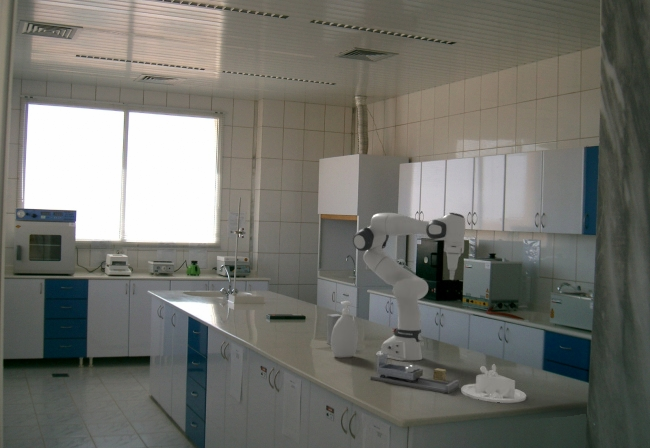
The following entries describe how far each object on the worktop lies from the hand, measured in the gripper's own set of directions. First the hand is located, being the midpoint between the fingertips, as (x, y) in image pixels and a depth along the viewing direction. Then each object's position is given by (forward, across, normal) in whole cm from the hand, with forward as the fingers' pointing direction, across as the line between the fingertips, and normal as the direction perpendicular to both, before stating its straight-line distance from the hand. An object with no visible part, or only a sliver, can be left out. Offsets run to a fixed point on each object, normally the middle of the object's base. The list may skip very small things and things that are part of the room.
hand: (451, 278), depth 300 cm
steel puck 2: (+38, +31, -12) cm, 50 cm away
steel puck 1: (+38, +35, -14) cm, 53 cm away
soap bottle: (+42, -6, -49) cm, 65 cm away
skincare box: (+43, -34, -59) cm, 80 cm away
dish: (+41, +37, +20) cm, 59 cm away
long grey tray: (+41, +31, -18) cm, 54 cm away
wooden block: (+41, +23, -2) cm, 47 cm away
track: (+41, +33, -11) cm, 54 cm away
